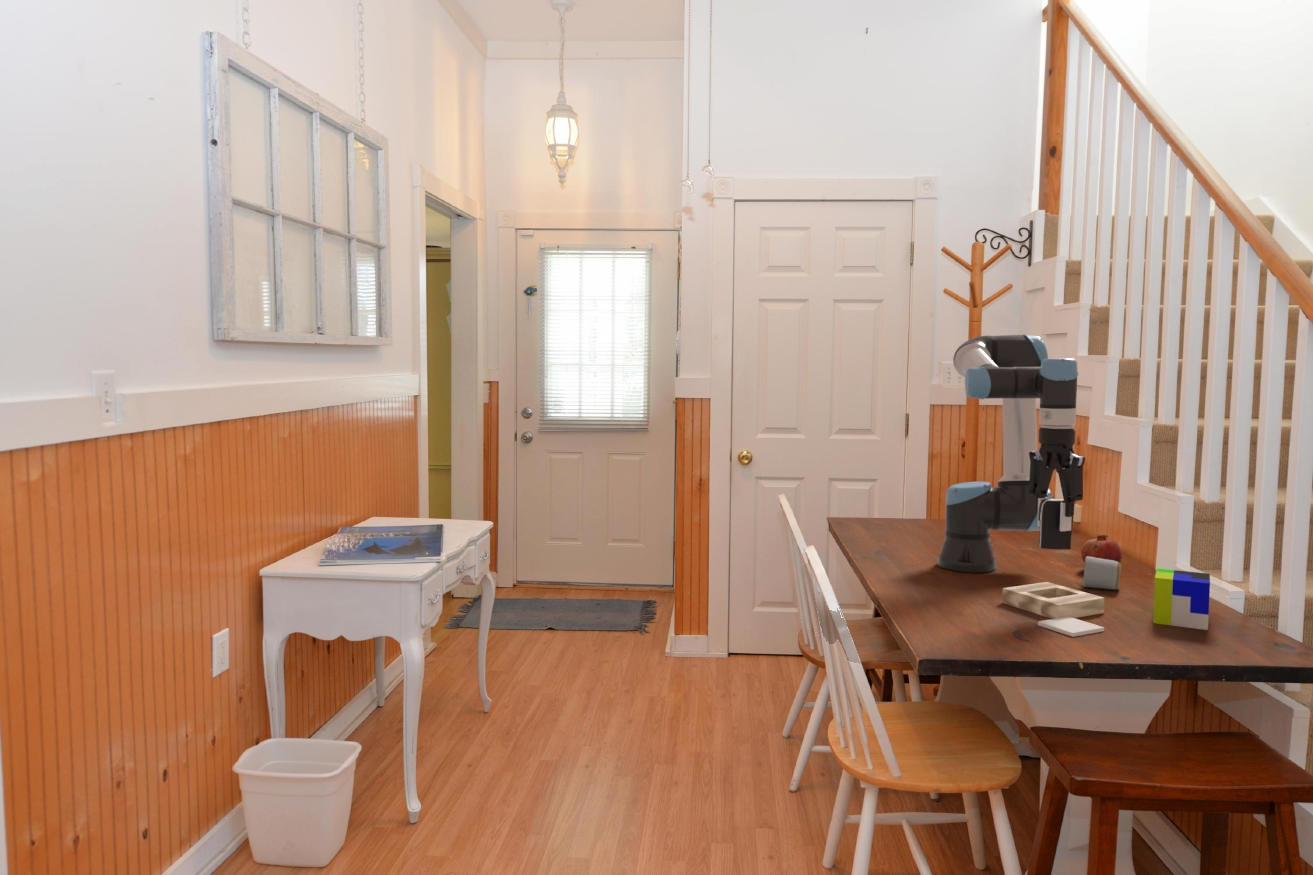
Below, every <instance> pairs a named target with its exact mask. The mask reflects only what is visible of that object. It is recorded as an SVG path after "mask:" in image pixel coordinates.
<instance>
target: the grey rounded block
mask: <svg viewBox="0 0 1313 875" xmlns="http://www.w3.org/2000/svg"><path fill="white" fill-rule="evenodd" d="M1083 570H1084V571H1083V580H1082V587H1083V588H1091V589H1092V588H1093V589H1103V590H1110V591H1116V590H1118V589H1120V585H1121V584H1120V583H1121V574H1122V573H1121V571H1122V564H1121V563H1119V562H1117V561H1113V560H1107V559H1101V558H1095V557H1089V556H1086V559H1085V563H1084V568H1083Z"/></svg>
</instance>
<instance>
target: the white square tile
mask: <svg viewBox="0 0 1313 875" xmlns="http://www.w3.org/2000/svg"><path fill="white" fill-rule="evenodd" d="M1037 626H1039V627H1042V628H1045V629H1049V630H1052V631H1054V632H1057V633H1061V634H1062V635H1067V636H1069V637H1073V638H1074V637H1079V636H1080V637H1081V636H1085V635H1090V634H1096V633H1101V632H1105V627H1103V626H1100V625H1097V624H1095V623H1091V622H1088V621H1084V620H1082V619H1081V620H1080V619H1078V618H1072V617H1069V616H1068V617H1062V618H1056V619H1051V618H1049V619H1045V620H1039V621H1037Z"/></svg>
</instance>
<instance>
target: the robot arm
mask: <svg viewBox="0 0 1313 875" xmlns="http://www.w3.org/2000/svg"><path fill="white" fill-rule="evenodd" d="M1048 354H1049V353H1048V349H1047V345H1046V343H1045V341H1044V340H1043V338H1041V336H1038V335H1031V334H1030V335H1027V334H1012V335H1011V334H1008V335H981V336H976V337H973V338H970V339H969V340H966V341H964V342H963V343H961V345H959V346H958V347H957V349H956V350H955V352H954V355H953V357H952V358H953V359H952V360H953V367H954V369H955V370H956V372H957V373H958V374H959V375H960V376H961V377H963V378H964V390H965V395H966V396H967V398H969V399H980V400H984V399H985V400H986V399H1002V437H1003V438H1002V442H1003V443H1002V446H1003V452H1002V453H1003V474H1002V475H1003V476H1001V478H999V480H997V487H993V486H992V484H991V482H988V481H967V482H960V483H955V484H953V485H950V486H949V487H948V488H947V490H946V494H945V502H944V504H945V525H944V526H945V527H944V528H945V531H944V533H945V534H944V535H945V537H944V540H943V543H942V547H941V550H940V553H939V555H938V558H937V562H938V563H937V566H938V567H940V568H942V569H945V570H949V571H954V572H960V573H961V572H962V573H988V572H992V571H995V570H996V569H997V559H996V557H995V555H994V551H993V546H992V543H991V535H990V534H991V531H1014V532H1015V531H1019V532H1029V531H1030V532H1037V531H1038V532H1040V521H1039V520H1038V516H1039V506H1040V503H1041V501H1042V500H1044V499H1053V497H1052V491H1051V490H1050V488H1049V487H1050V483H1051V481H1052V476H1053V473H1054V471H1056V473H1057V474H1058V478H1059V482H1060V489H1061V492H1062V493H1061V494H1062V499H1064V500H1063V501H1062V502H1061V504H1060V531H1071V522H1072V517H1073V516H1075V503H1077V502H1078V501H1083V499H1084V464H1085V461H1086V457H1085V456H1084V455H1083V456H1082V455H1081V456H1079V455H1077V454H1076V453H1075V451H1074V449H1073V446H1074V445H1075V443H1076V429H1075V428H1074V426H1076V425H1077V395H1078V394H1077V393H1078V391H1077V390H1078V377H1079V372H1078V361H1077V360H1076V359H1075V358H1049V355H1048ZM1037 399H1039V422H1038V424H1039V426H1041V427H1039V429H1037ZM1037 430H1038V432H1037ZM1037 435H1038V436H1037ZM1038 443H1039V444H1040V446H1039V449H1038ZM1073 518H1074V517H1073Z"/></svg>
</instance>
